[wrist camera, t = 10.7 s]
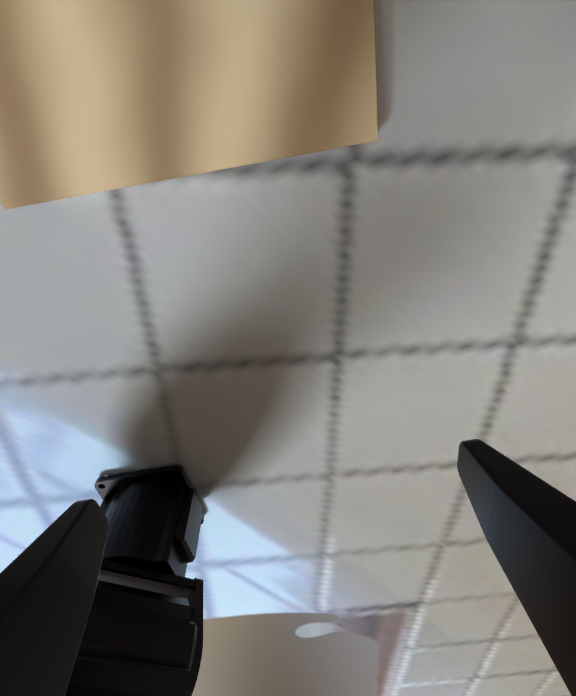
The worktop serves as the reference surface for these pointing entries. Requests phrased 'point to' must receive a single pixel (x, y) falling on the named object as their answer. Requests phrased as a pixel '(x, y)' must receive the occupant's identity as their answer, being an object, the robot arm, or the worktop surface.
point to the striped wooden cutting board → (175, 89)
